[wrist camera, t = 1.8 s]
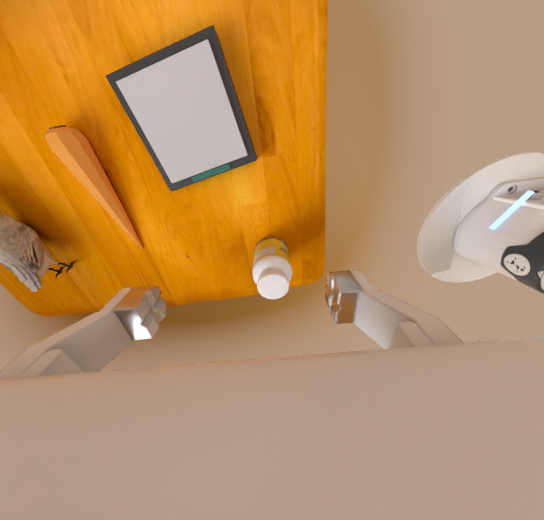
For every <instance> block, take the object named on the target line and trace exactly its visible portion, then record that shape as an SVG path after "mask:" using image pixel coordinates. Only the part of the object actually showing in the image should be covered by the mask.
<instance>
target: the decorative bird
mask: <svg viewBox="0 0 544 520" xmlns="http://www.w3.org/2000/svg"><path fill="white" fill-rule="evenodd" d="M75 262H76V261H75ZM0 263H1V264H3V265H4V266H5V267H6V268H7V269H9V270H10V271H12V272H14V273H15V275H16V276H17V277H18V278H19V280H20V281H21V282H24V283H25V285H26V286H27V287H28V288H30V289H31V290H32V291H33V292H36V291H38V289H39V288H41V287H42V286H43V284H42V282H41V280H40V279H42V277H43V276H44V275H45V273H46V271H47V270H54V271H56V272H57V274H56V279H57V276H58V275H59V274H60V273H61V272H62V269H63V268H64V267H65V266H67V267H68V269H67V272H68V270H69V269H71V268H72V267H73V264H74V261H73V263H72V262H71V263H70V265H66V264H64V263H58V262H57V261H55V260H53V259H52V256H51V253H50V252H49V251H48V250H47V249H46V247H45V245H44V243H43V242H42V241H41V240H40V238H39V236H38V234H37V233H36V232H35V230H33V229H32V228H31V227H29V226H26V225H25V224H23V223H21V222H18V221H17V220H15V219H13V218H12V217H10V216H8V215H5V214H2V213H1V212H0ZM51 264H62V265H65V266H64V267H61V268H60V269H59V270H55V269H53V268H49V267H50V266H51Z"/></svg>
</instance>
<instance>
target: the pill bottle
mask: <svg viewBox="0 0 544 520" xmlns="http://www.w3.org/2000/svg"><path fill="white" fill-rule="evenodd" d="M291 278H292V268H291V263H290V259H289V254H288V250H287V247H286V245H285V243H284V242H283V241H282V240H280V239H278V238H275V237H267V238H264V239H262V240H261V241H260V242H259V243H258V244H257V245H256V248H255V252H254V263H253V279H254V281H255V283H256V284H257V288H258V291H259V293H260V294H261V295H262V296H263V297H265V298H268V299H278V298H281V297H283V296H284V295H285V294H286V293H287V291H288V289H289V282H290V280H291Z"/></svg>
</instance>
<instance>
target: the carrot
mask: <svg viewBox="0 0 544 520" xmlns="http://www.w3.org/2000/svg"><path fill="white" fill-rule="evenodd" d="M49 129H50V130H49V131H48V132H47V133H46V134H45V135H44V136H45V138H46V140H47V142H48V144H49V146H50V148H51V150H52V151H53V152H54V153H55V154H56V155H57V156H58V157H59V159H60V160H61V161H62V162H63V163H64V164H65V165H66V166H67V168H68V169H69V170H70V171H71V172H72V173H73V174H74V175H75V176H76V178H77V179H78V180H79V181H80V182H81V183H82V184H83V185H84V187H85V188H86V189H87V190H88V191H89V192H90V193H91V194H92V196H93V197H94V198H95V199H96V200H97V201H98V202H99V203H100V205H101V206H102V207H103V208H104V209H105V210H106V211H107V212H108V213H109V215H110V216H111V217H112V218H113V219H114V220H115V221H116V222H117V224H118V225H119V226H120V227H121V228H122V229H123V230H124V231H125V232H126V233H127V234H128V235H129V236H130V237H131V238H132V239H133V240H134V241H135V242H136V243H137V244H138V245H139V246H140V247H141V248H142V246H141V243H140V241H139V239H138V237H137V235H136V232H135V230H134V228H133V226H132V224H131V222H130V220H129V218H128V216H127V214H126V212H125V210H124V208H123V206H122V204H121V203H120V201H119V199H118V197H117V195H116V193H115V191H114V189H113V187H112V185H111V183H110V182H109V180H108V178H107V176H106V174H105V172H104V170H103V168H102V166H101V164H100V163H99V161H98V159H97V157H96V155H95V153H94V151H93V149H92V147H91V145H90V143H89V142H88V140H87V139H86V138H85V137H84V136H83V134H82V133H81V132H80V131H79V130H78V129H75V128H70V127H66V125H61V126H55V127H51V128H49ZM142 249H143V248H142Z"/></svg>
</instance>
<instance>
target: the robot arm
mask: <svg viewBox="0 0 544 520" xmlns="http://www.w3.org/2000/svg"><path fill="white" fill-rule="evenodd" d="M453 247H454V250H455V252H456V253H457V254H458V255H459V256H461V257H463V258H466V259H469V260H472V262H473V263H474V264H475V265H477V266H479V267H487V268H490V269H492V270H494V271H496V272H499V273H501V274H503V275H506V276H508V277H510V278H513V279H515V280H518V281H520V282H522V283H523V284H525V285H527V286H528V287H530V288H532V289H534V290H537V291H539V292H541V293H543V294H544V177H539V178H531V179H524V180H516V181H508V182H502V183H500V184H498V185H497V186H496V187H495V188H494V189H493V190H492V191H491V192H490V194H489V195H488V196H487V197H486V199H485V200H484V201H482V202H481V203H480V204H479V205H478V206H476V207H475V208H474V209H473V210H471V211H470V212H469V213H468V214H467V215H466V217H465V218H464V219H463V220H462V221H461V223H460V224H459V226H458V228H457V230H456V232H455V235H454V238H453ZM326 281H327V283H328V284H327V286H326V287H325V298H326V302H327V305H328V306H329V307H330V308H331V315H332V317H333V320H334V322H335V324H340V323H354V324H355V325H356V326H357V327H359V328H360V329H361V330H362V331H364V332H365V333H366V334H367V335H368V336H369V337H371V338H372V339H373V340H374V341H375V342H377V343H378V344H379V345H380V346H381V347H383V348H384V349H377V350H365V351H352V352H339V353H327V354H315V355H301V356H288V357H276V358H263V359H250V360H237V361H224V362H213V363H199V364H186V365H174V366H162V367H149V368H136V369H123V370H110V371H100V370H101V369H102V368H103V367H105V366H106V365H107V364H108V363H109V362H110V361H111V360H113V359H114V358H115V357H116V356H117V355H118V354H120V353H121V352H122V351H123V350H124V349H125V348H126V347H128V346H129V345H130V344H131V343H132V342H133V340H141V339H150V338H153V336H154V335H155V333H156V331H157V329H158V328H159V324H158V323H159V322H160V321H161V320H163V319H164V317H165V315H166V311H167V305H166V302H165V300H164V299H163V298H161V297H160V295H161V291H160V289H159V287H157V286H147V287H131V288H123V289H121V290H120V291H119V292H118V293H117V294H116V295H115V296H114V297H113V298H112V299H111V300H110V301H109V302H108V303H107V304H106V305H105V306H104V307H103V308H102V309H101V310H100V311H99V312H95V313H93V314H91V315H89V316H87V317H86V318H84V319H82V320H80V321H78V322H76V323H74V324H72V325H71V326H69V327H67V328H65V329H63V330H61V331H59V332H57V333H56V334H54V335H52V336H50V337H48V338H46V339H44V340H42V341H41V342H39V343H37V344H35V345H33V346H31V347H29V348H27V349H26V350H24V351H23V352H21V353H20V354H19V355H18V356H17V357H15V358H14V359H13V360H12V361H11V362H10V363H9V364H7V365H6V366H5V367H4V368H3V369H2V370H0V520H544V337H543V336H542V337H530V338H517V339H504V340H493V341H492V340H491V341H479V342H467V343H463V342H462V341H461V340H460V339H459V338H458V337H457V336H456V335H455V334H454V333H453V332H452V331H451V330H450V329H449V328H448V327H447V326H446V325H445V324H444V323H443V322H442V321H441V320H440V319H439V318H438V317H436V316H433V315H432V314H429V313H427V312H425V311H423V310H421V309H419V308H417V307H415V306H413V305H410V304H408V303H406V302H404V301H402V300H400V299H398V298H396V297H394V296H391V295H389V294H387V293H385V292H383V291H381V290H376V289H375V288H374V287H373V285H372V284H371V283H370V281H369V280H368V279H367V278H366V276H365V275H364V274H363V272H362V271H361V270H359V269H355V270H348V271H338V272H327V274H326Z"/></svg>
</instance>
